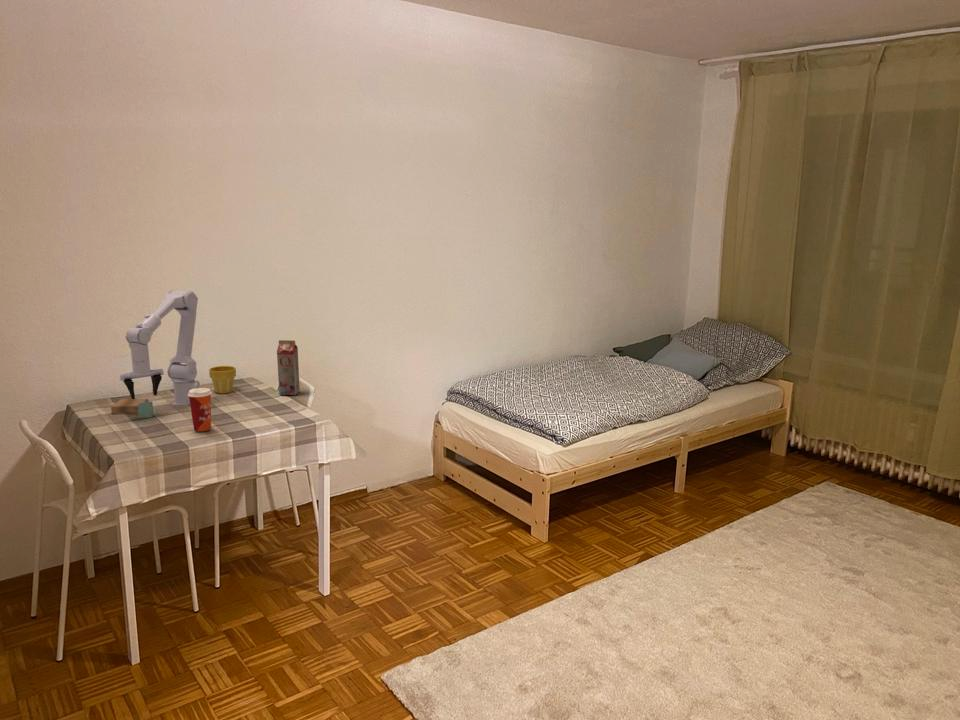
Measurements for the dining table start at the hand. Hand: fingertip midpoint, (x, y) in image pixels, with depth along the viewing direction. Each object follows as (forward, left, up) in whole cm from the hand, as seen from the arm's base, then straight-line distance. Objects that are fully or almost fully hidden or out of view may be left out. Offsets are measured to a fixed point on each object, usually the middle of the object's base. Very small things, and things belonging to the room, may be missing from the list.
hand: (144, 396), depth 265 cm
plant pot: (-21, -32, -8) cm, 39 cm away
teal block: (0, 0, -8) cm, 8 cm away
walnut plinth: (+8, -8, -7) cm, 14 cm away
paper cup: (-24, +17, -8) cm, 30 cm away
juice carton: (-48, -28, -8) cm, 56 cm away
